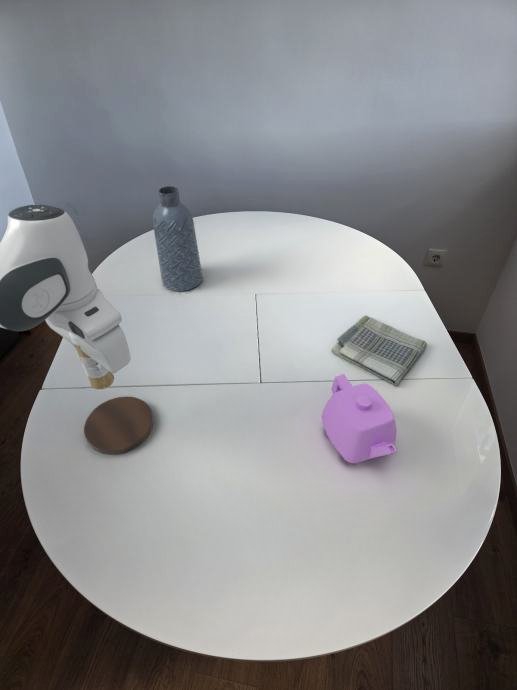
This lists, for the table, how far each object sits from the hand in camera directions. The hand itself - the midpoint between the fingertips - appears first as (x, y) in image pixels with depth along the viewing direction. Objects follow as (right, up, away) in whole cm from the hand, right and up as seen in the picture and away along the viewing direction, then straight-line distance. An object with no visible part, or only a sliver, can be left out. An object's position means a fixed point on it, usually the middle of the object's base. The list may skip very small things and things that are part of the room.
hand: (95, 363), depth 78 cm
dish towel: (+60, +2, +29) cm, 67 cm away
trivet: (0, -14, +13) cm, 19 cm away
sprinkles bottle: (0, -4, +4) cm, 5 cm away
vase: (+7, +23, +53) cm, 58 cm away
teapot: (+50, -16, +10) cm, 53 cm away
